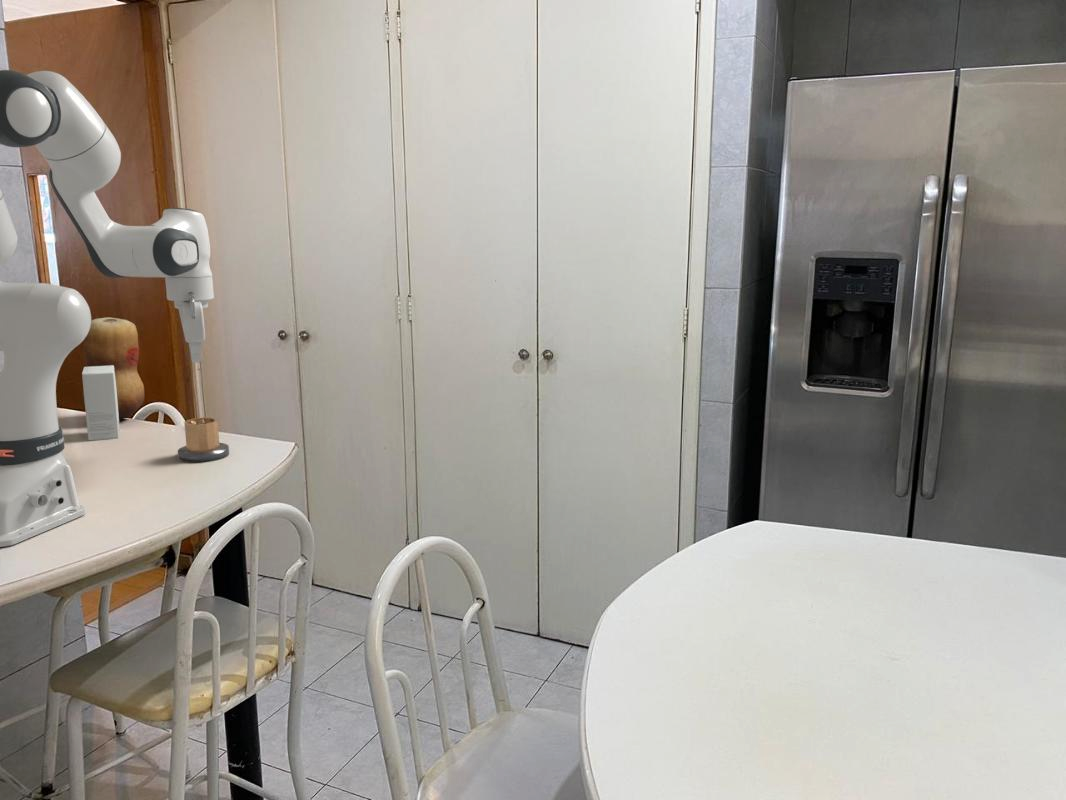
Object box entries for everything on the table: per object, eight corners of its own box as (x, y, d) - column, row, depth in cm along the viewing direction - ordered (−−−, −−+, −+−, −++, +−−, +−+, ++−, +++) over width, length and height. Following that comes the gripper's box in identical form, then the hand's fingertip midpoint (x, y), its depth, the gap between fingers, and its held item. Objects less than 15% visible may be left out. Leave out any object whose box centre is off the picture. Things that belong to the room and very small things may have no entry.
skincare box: (90, 432, 190) (82, 366, 187) (121, 429, 193) (114, 364, 189) (88, 441, 183) (80, 373, 179) (121, 438, 186) (113, 370, 182)
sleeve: (220, 451, 171) (218, 423, 170) (187, 454, 169) (184, 426, 167) (218, 443, 177) (216, 416, 176) (186, 446, 174) (184, 419, 173)
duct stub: (215, 463, 168) (212, 432, 166) (168, 461, 169) (165, 431, 167) (237, 449, 178) (235, 420, 176) (193, 448, 179) (191, 419, 177)
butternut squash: (128, 427, 195) (117, 322, 189) (74, 426, 196) (61, 321, 190) (157, 413, 209) (148, 315, 203) (106, 412, 209) (95, 314, 204)
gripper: (209, 294, 157) (215, 365, 160) (204, 286, 176) (209, 350, 179) (173, 295, 155) (180, 367, 158) (172, 287, 173) (178, 351, 176)
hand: (195, 358), depth 169 cm, fingers open, 8 cm apart
